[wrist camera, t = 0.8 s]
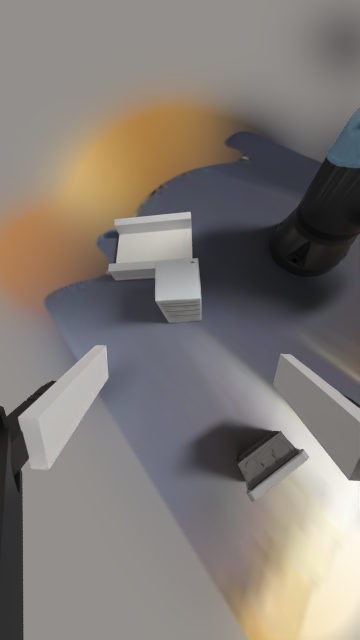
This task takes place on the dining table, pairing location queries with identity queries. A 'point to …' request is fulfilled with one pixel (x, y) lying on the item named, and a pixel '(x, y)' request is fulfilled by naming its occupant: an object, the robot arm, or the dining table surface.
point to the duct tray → (150, 244)
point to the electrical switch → (269, 463)
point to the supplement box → (178, 290)
